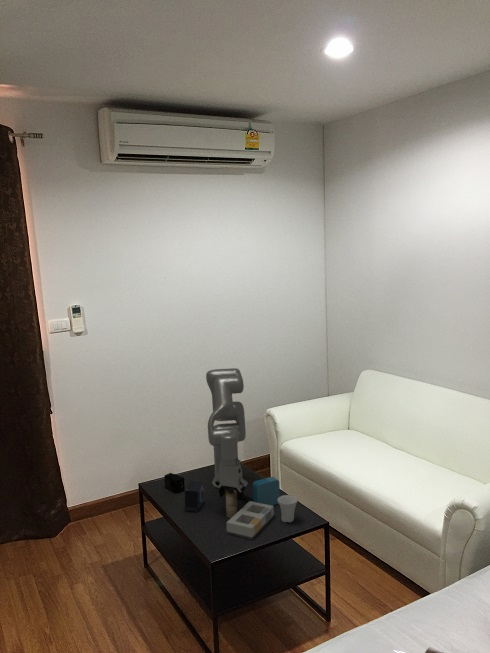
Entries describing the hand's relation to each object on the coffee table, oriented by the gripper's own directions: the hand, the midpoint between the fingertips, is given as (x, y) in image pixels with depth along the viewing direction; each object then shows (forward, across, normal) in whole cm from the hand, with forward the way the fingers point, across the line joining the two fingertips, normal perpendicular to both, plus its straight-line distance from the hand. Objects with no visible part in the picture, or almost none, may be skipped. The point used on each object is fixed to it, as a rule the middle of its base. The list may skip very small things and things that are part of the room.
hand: (231, 497), depth 241 cm
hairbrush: (+9, +5, -18) cm, 20 cm away
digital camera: (+8, +41, -12) cm, 43 cm away
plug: (+9, 0, -1) cm, 9 cm away
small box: (+8, +20, -1) cm, 22 cm away
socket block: (+9, -12, +4) cm, 15 cm away
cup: (+9, -24, -7) cm, 27 cm away
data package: (+9, -10, -16) cm, 21 cm away
